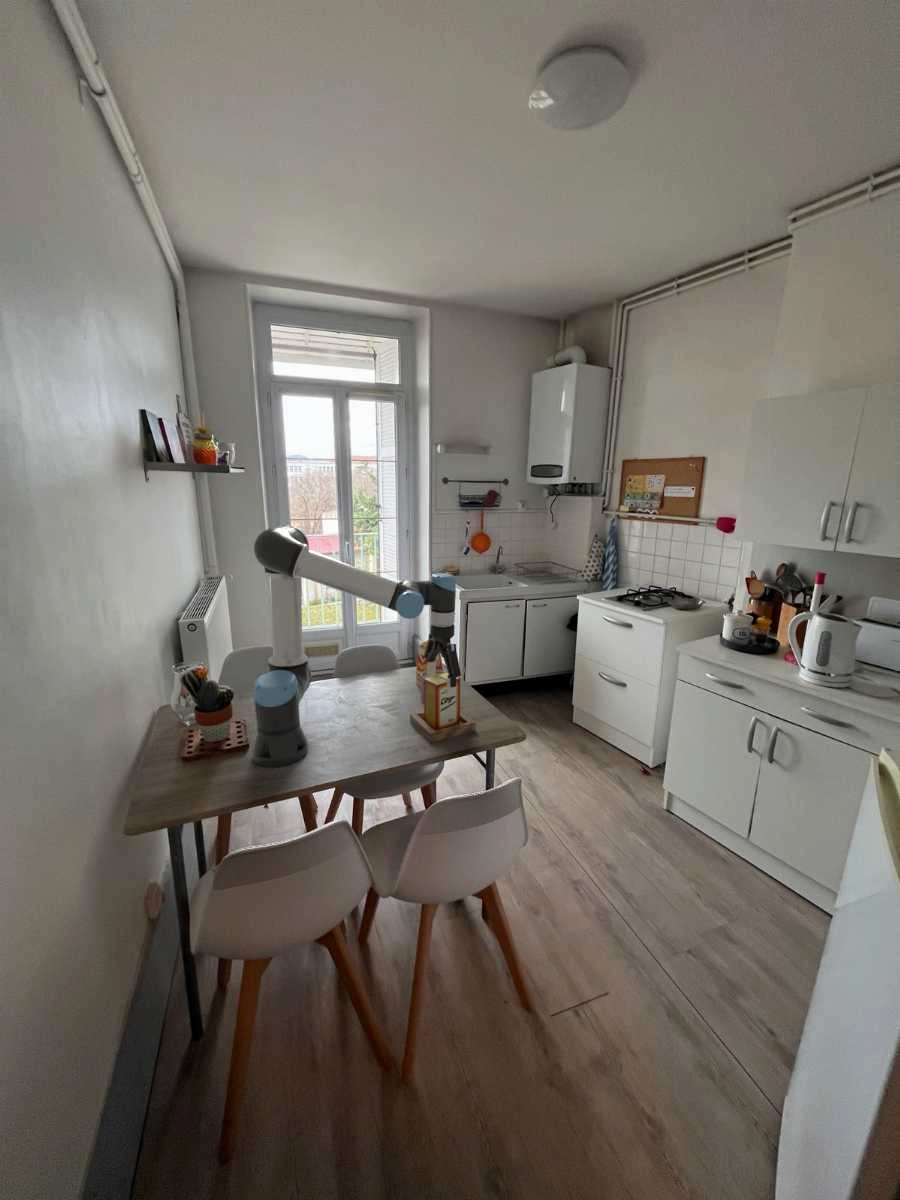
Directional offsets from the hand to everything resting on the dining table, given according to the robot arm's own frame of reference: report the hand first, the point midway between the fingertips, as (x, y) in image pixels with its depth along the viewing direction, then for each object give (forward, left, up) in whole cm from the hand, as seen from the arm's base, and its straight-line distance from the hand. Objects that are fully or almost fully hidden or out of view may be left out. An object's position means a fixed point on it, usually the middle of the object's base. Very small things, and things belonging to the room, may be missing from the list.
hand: (440, 688), depth 154 cm
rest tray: (0, 0, -13) cm, 13 cm away
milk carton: (+12, +33, -14) cm, 38 cm away
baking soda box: (0, 0, -13) cm, 13 cm away
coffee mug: (+9, +20, -14) cm, 26 cm away
